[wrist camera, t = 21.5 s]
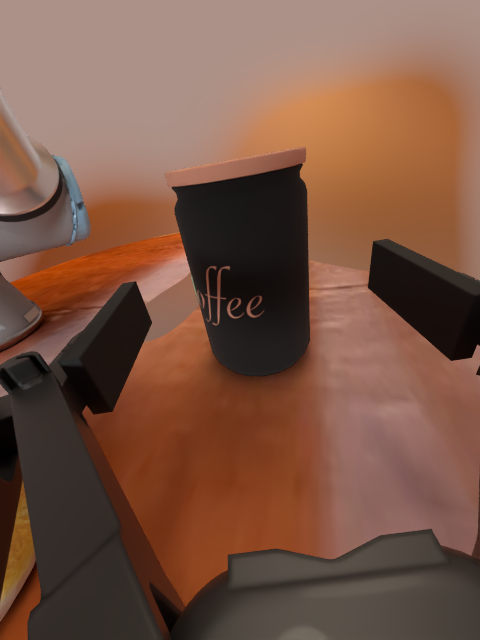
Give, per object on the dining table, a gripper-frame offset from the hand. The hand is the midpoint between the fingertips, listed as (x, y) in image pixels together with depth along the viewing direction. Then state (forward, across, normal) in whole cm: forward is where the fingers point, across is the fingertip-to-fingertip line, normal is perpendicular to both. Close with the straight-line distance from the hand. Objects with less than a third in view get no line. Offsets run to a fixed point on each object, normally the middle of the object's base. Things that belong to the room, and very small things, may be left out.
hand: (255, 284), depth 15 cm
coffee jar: (+10, 0, -12) cm, 16 cm away
